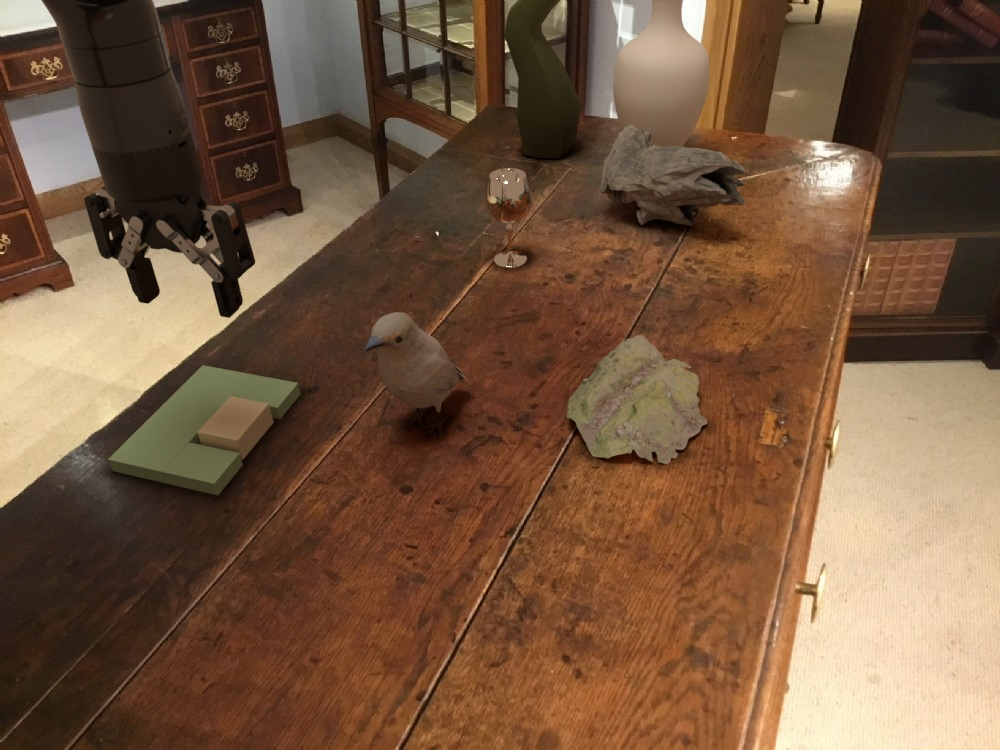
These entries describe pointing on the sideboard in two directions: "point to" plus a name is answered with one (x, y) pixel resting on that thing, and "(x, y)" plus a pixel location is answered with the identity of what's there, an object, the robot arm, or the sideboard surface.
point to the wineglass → (508, 208)
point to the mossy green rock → (637, 404)
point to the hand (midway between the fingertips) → (190, 305)
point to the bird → (413, 364)
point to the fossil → (668, 178)
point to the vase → (662, 78)
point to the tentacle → (541, 84)
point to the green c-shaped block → (173, 430)
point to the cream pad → (237, 425)
